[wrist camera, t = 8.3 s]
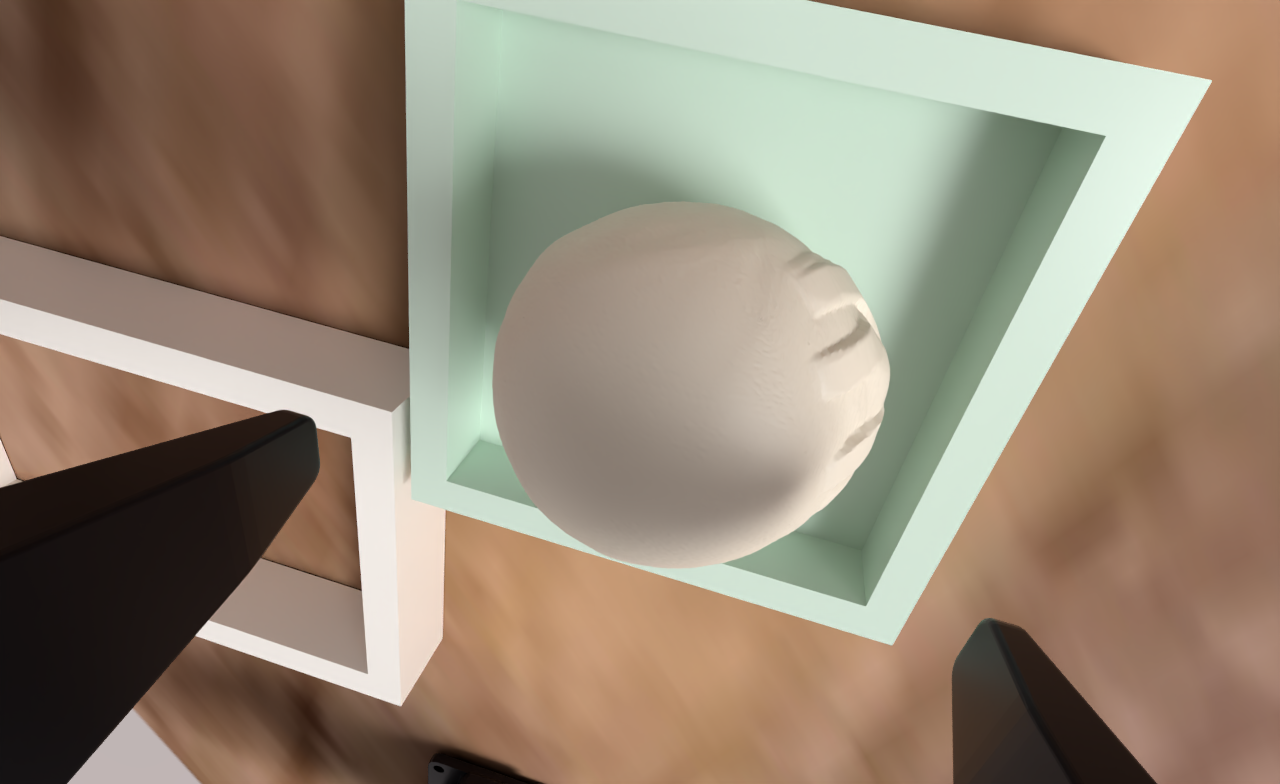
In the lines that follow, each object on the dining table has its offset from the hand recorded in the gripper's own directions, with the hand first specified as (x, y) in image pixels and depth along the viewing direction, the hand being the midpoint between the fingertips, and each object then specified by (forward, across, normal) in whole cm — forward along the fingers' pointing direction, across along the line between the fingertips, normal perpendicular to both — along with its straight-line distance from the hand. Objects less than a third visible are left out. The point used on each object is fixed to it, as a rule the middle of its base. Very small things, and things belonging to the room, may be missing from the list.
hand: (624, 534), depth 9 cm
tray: (+9, 0, 0) cm, 9 cm away
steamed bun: (+8, 0, 0) cm, 8 cm away
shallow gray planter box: (+9, +17, +10) cm, 22 cm away
